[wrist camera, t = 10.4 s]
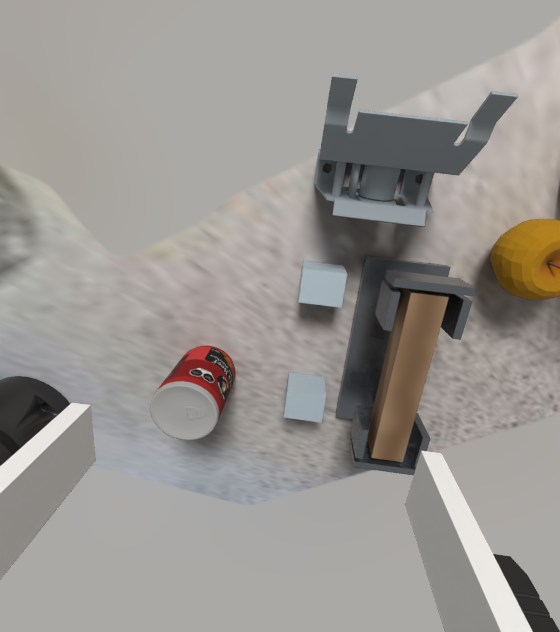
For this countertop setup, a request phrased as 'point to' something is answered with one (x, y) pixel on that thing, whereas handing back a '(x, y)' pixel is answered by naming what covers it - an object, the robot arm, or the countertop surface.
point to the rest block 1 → (322, 284)
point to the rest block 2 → (305, 397)
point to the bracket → (394, 155)
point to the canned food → (193, 394)
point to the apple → (529, 259)
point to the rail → (405, 371)
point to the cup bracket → (372, 341)
